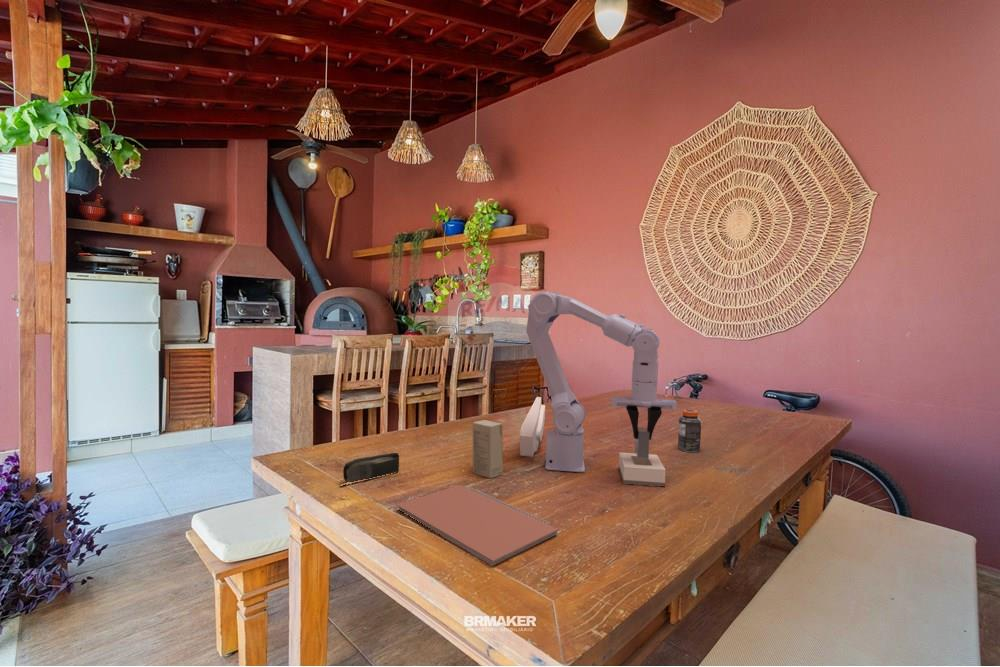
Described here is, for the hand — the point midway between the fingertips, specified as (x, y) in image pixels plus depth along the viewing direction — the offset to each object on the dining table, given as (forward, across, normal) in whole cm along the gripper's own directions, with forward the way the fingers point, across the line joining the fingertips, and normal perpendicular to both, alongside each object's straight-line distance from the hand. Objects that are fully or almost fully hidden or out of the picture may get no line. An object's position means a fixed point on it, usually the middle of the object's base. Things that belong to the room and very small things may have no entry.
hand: (642, 438), depth 115 cm
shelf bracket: (+10, -27, +19) cm, 34 cm away
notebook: (+10, -34, -30) cm, 47 cm away
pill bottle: (+10, +17, +26) cm, 33 cm away
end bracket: (+4, 0, 0) cm, 4 cm away
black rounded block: (+10, -62, -13) cm, 64 cm away
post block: (+9, 0, 0) cm, 9 cm away
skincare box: (+10, -36, -5) cm, 38 cm away
